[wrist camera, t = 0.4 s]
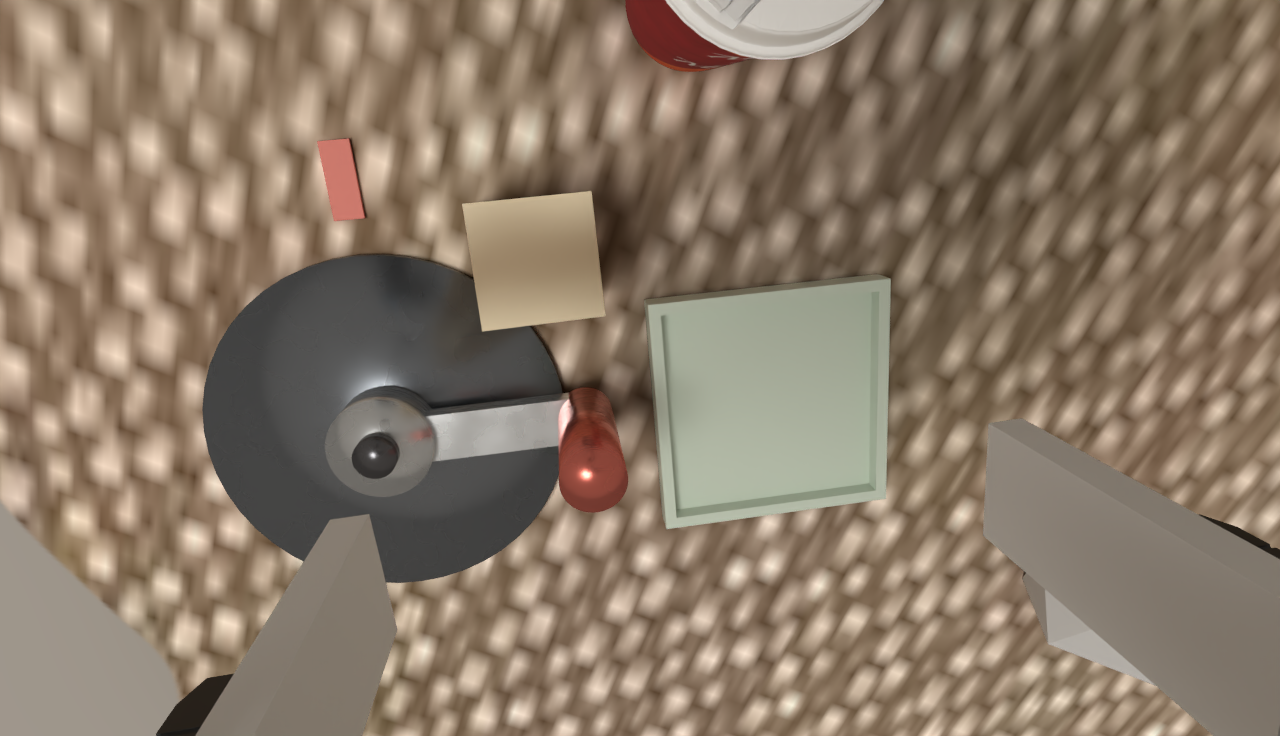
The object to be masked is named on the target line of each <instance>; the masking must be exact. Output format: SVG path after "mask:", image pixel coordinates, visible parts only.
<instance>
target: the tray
mask: <svg viewBox="0 0 1280 736" xmlns="http://www.w3.org/2000/svg"><path fill="white" fill-rule="evenodd" d="M890 290H891V279H890V278H888V277H885V276H882V275H879V274H873V275H864V276H855V277H846V278H836V279H827V280H818V281H809V282H800V283H790V284H781V285H772V286H763V287H754V288H744V289H735V290H726V291H717V292H708V293H698V294H689V295H680V296H671V297H662V298H652V299H644V304H645V316H646V327H647V339H648V351H649V363H650V374H651V386H652V398H653V410H654V422H655V433H656V445H657V457H658V469H659V480H660V492H661V504H662V516H663V519H664V522H665V526H666V529H671V528H678V527H685V526H692V525H700V524H707V523H714V522H721V521H728V520H736V519H743V518H750V517H757V516H764V515H772V514H779V513H786V512H793V511H801V510H808V509H815V508H822V507H829V506H837V505H844V504H851V503H858V502H865V501H873V500H880V499H886V471H887V426H888V380H889V335H890Z"/></svg>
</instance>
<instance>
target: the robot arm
mask: <svg viewBox="0 0 1280 736" xmlns="http://www.w3.org/2000/svg"><path fill="white" fill-rule="evenodd" d="M983 536H984V537H986V538H987V539H988V540H989V541H990V542H991V543H992V544H994V545H995V546H996V547H997V548H998V549H999V550H1000V551H1002V552H1003V553H1004V554H1005V555H1006V556H1007V557H1009V558H1010V559H1011V560H1012V561H1013V562H1014V563H1015V564H1017V565H1018V566H1019V567H1020V568H1021V569H1022V570H1024V571H1025V572H1026V573H1027V574H1028V575H1029V576H1030V577H1032V578H1033V579H1034V580H1035V581H1036V582H1037V583H1038V584H1040V585H1041V586H1042V587H1043V588H1044V589H1045V590H1047V591H1048V592H1049V593H1050V594H1051V595H1052V596H1053V597H1055V598H1056V599H1057V600H1058V601H1059V602H1060V603H1061V604H1063V605H1064V606H1065V607H1066V608H1067V609H1068V610H1070V611H1071V612H1072V613H1073V614H1074V615H1075V616H1076V617H1078V618H1079V619H1080V620H1081V621H1082V622H1083V623H1085V624H1086V625H1087V626H1088V627H1089V628H1090V629H1091V630H1093V631H1094V632H1095V633H1096V634H1097V635H1098V636H1099V637H1101V638H1102V639H1103V640H1104V641H1105V642H1106V643H1108V644H1109V645H1110V646H1111V647H1112V648H1113V649H1114V650H1116V651H1117V652H1118V653H1119V654H1120V655H1121V656H1123V657H1124V658H1125V659H1126V660H1127V661H1128V662H1129V663H1131V664H1132V665H1133V666H1134V667H1135V668H1136V669H1137V670H1139V671H1140V672H1141V673H1142V674H1143V675H1144V676H1146V677H1147V678H1148V679H1149V680H1150V681H1151V682H1152V683H1154V684H1155V685H1156V686H1157V687H1158V688H1159V689H1160V690H1162V691H1163V692H1164V693H1165V694H1166V695H1167V696H1169V697H1170V698H1171V699H1172V700H1173V701H1174V702H1175V703H1177V704H1178V705H1179V706H1180V707H1181V708H1182V709H1184V710H1185V711H1186V712H1187V713H1188V714H1189V715H1190V716H1192V717H1193V718H1194V719H1195V720H1196V721H1197V722H1198V723H1200V724H1201V725H1202V726H1203V727H1204V728H1205V729H1207V730H1208V731H1209V732H1210V733H1211V734H1212V735H1213V736H1280V550H1279V549H1278V548H1271V547H1270V544H1268V543H1266V542H1264V541H1263V540H1261V539H1259V538H1257V537H1255V536H1253V535H1251V534H1249V533H1248V532H1246V531H1244V530H1242V529H1240V528H1238V527H1235V526H1232V525H1229V524H1227V523H1224V522H1221V521H1218V520H1215V519H1212V518H1209V517H1206V516H1203V515H1200V514H1199V515H1198V514H1196V513H1194V512H1192V511H1190V510H1189V509H1187V508H1185V507H1183V506H1181V505H1179V504H1178V503H1176V502H1174V501H1172V500H1170V499H1168V498H1167V497H1165V496H1163V495H1161V494H1159V493H1157V492H1156V491H1154V490H1152V489H1150V488H1148V487H1147V486H1145V485H1143V484H1141V483H1139V482H1137V481H1136V480H1134V479H1132V478H1130V477H1128V476H1126V475H1125V474H1123V473H1121V472H1119V471H1117V470H1115V469H1114V468H1112V467H1110V466H1108V465H1106V464H1104V463H1103V462H1101V461H1099V460H1097V459H1095V458H1094V457H1092V456H1090V455H1088V454H1086V453H1084V452H1083V451H1081V450H1079V449H1077V448H1075V447H1073V446H1072V445H1070V444H1068V443H1066V442H1064V441H1062V440H1061V439H1059V438H1057V437H1055V436H1053V435H1051V434H1050V433H1048V432H1046V431H1044V430H1042V429H1041V428H1039V427H1037V426H1035V425H1033V424H1031V423H1030V422H1028V421H1026V420H1024V419H1022V418H1021V419H1014V420H1007V421H1001V422H994V423H989V426H988V446H987V467H986V487H985V508H984V528H983ZM396 632H397V626H396V622H395V618H394V614H393V610H392V606H391V602H390V598H389V593H388V589H387V585H386V581H385V577H384V573H383V569H382V565H381V561H380V556H379V552H378V548H377V544H376V540H375V536H374V532H373V528H372V524H371V520H370V515H369V514H366V515H359V516H352V517H346V518H339V519H332V520H330V521H329V522H328V524H327V525H326V527H325V529H324V530H323V532H322V533H321V535H320V537H319V538H318V540H317V541H316V543H315V545H314V546H313V548H312V549H311V551H310V553H309V554H308V556H307V557H306V559H305V561H304V562H303V564H302V565H301V567H300V569H299V570H298V572H297V574H296V575H295V577H294V578H293V580H292V582H291V583H290V585H289V586H288V588H287V590H286V591H285V593H284V594H283V596H282V598H281V599H280V601H279V602H278V604H277V606H276V607H275V609H274V610H273V612H272V614H271V615H270V617H269V618H268V620H267V622H266V623H265V625H264V626H263V628H262V630H261V631H260V633H259V634H258V636H257V638H256V639H255V641H254V642H253V644H252V646H251V647H250V649H249V651H248V652H247V654H246V655H245V657H244V659H243V660H242V662H241V663H240V665H239V667H238V668H237V670H236V671H235V673H234V674H229V675H223V676H217V677H211V678H207V679H205V680H204V681H203V682H202V683H201V684H200V685H199V686H197V687H196V688H195V689H194V690H193V691H192V692H191V693H189V694H188V695H187V696H186V697H185V698H184V699H182V700H181V701H180V702H179V703H178V704H177V705H176V706H175V707H174V709H173V711H172V712H171V713H170V715H169V716H168V717H167V719H166V720H165V722H164V723H163V725H162V726H161V728H160V729H159V730H158V732H157V734H156V736H362V734H363V731H364V728H365V725H366V722H367V719H368V716H369V713H370V710H371V707H372V704H373V701H374V698H375V695H376V692H377V689H378V686H379V683H380V680H381V677H382V674H383V671H384V668H385V665H386V662H387V659H388V656H389V653H390V650H391V647H392V644H393V641H394V638H395V635H396Z"/></svg>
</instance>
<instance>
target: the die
mask: <svg viewBox="0 0 1280 736" xmlns="http://www.w3.org/2000/svg"><path fill="white" fill-rule="evenodd" d="M1022 579H1023V582H1024V584H1025V587H1026V589H1027V592H1028V594H1029V597H1030V599H1031V602H1032V604H1033V607H1034V609H1035V612H1036V615H1037V617H1038V620H1039V622H1040V625H1041V627H1042V630H1043V632H1044V635H1045V637H1046V640H1047V642H1048V644H1050V645H1052V646H1055V647H1057V648H1060V649H1063V650H1065V651H1068V652H1070V653H1073V654H1075V655H1078V656H1081V657H1083V658H1086V659H1088V660H1091V661H1093V662H1096V663H1099V664H1101V665H1104V666H1106V667H1109V668H1112V669H1114V670H1117V671H1119V672H1122V673H1124V674H1127V675H1130V676H1132V677H1135V678H1137V679H1140V680H1142V681H1145V682H1148V683H1150V684H1153V685H1155V684H1154V683H1152V682H1151V681H1150V680H1149V679H1148V678H1147V677H1146V676H1144V675H1143V674H1142V673H1141V672H1140V671H1139V670H1137V669H1136V668H1135V667H1134V666H1133V665H1132V664H1131V663H1129V662H1128V661H1127V660H1126V659H1125V658H1124V657H1123V656H1121V655H1120V654H1119V653H1118V652H1117V651H1116V650H1114V649H1113V648H1112V647H1111V646H1110V645H1109V644H1108V643H1106V642H1105V641H1104V640H1103V639H1102V638H1101V637H1099V636H1098V635H1097V634H1096V633H1095V632H1094V631H1093V630H1091V629H1090V628H1089V627H1088V626H1087V625H1086V624H1085V623H1083V622H1082V621H1081V620H1080V619H1079V618H1078V617H1076V616H1075V615H1074V614H1073V613H1072V612H1071V611H1070V610H1068V609H1067V608H1066V607H1065V606H1064V605H1063V604H1061V603H1060V602H1059V601H1058V600H1057V599H1056V598H1055V597H1053V596H1052V595H1051V594H1050V593H1049V592H1048V591H1047V590H1045V589H1044V588H1043V587H1042V586H1041V585H1040V584H1038V583H1037V582H1036V581H1035V580H1034V579H1033V578H1032V577H1030V576H1029V575H1028V574H1027V573H1026V574H1025V575H1024V577H1023V578H1022ZM1155 686H1156V685H1155Z"/></svg>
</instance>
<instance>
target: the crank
mask: <svg viewBox="0 0 1280 736" xmlns="http://www.w3.org/2000/svg"><path fill="white" fill-rule="evenodd" d="M372 433H382V434H386V435H388V436H390V437H391V438H393V439H394V440H395V442H396V443H397V444H398V447H399V450H400V457H399V460H398V462H397V464H396V466H395V468H394V470H393V471H392V472H391V473H390V474H389V475H387V476H386V477H383V478H379V479H371V478H367V477H364V476H362V475H361V474H359V473H358V472H357V471H356V469H355V468H354V466H353V464H352V453H353V450H354V449H355V447H356V446H357V444H358V443H359V441H360V440H361V439H362V438H363V437H365V436H366V435H368V434H372ZM552 446H558V448H559V486H560V491H561V493H562V495H563V497H564V499H565V500H566V501H567V502H568V503H569V504H570V505H571V506H572V507H574V508H576V509H578V510H581V511H584V512H600V511H604V510H607V509H609V508H611V507H613V506H614V505H615V504H617V503H618V502H619V501H620V500H621V498H622V497H623V495H624V494H625V492H626V489H627V485H628V475H627V470H626V466H625V461H624V457H623V453H622V449H621V444H620V440H619V436H618V432H617V428H616V423H615V419H614V415H613V411H612V406H611V403H610V401H609V400H608V398H607V397H606V396H605V395H604V394H603V393H602V392H600V391H599V390H597V389H594V388H589V387H582V388H577V389H575V390H572V391H571V392H569V393H563V394H555V395H546V396H538V397H530V398H521V399H513V400H504V401H496V402H488V403H479V404H471V405H463V406H454V407H446V408H438V409H431V407H430V406H429V405H428V404H427V403H426V402H425V401H424V400H423V399H422V398H420V397H419V396H418V395H416V394H414V393H412V392H410V391H408V390H405V389H402V388H398V387H389V386H384V387H376V388H372V389H368V390H366V391H364V392H362V393H360V394H358V395H357V396H355V397H354V398H353V399H352V400H351V401H350V402H349V403H348V404H347V405H346V407H345V408H344V409H343V410H342V411H341V413H340V414H339V415H338V416H337V417H336V419H335V420H334V421H333V423H332V424H331V426H330V428H329V430H328V432H327V436H326V441H325V452H326V458H327V461H328V464H329V466H330V468H331V469H332V471H333V473H334V474H335V475H336V476H337V478H338V479H339V480H340V481H341V482H343V483H344V484H345V485H346V486H348V487H349V488H351V489H353V490H355V491H357V492H359V493H362V494H365V495H369V496H375V497H390V496H395V495H399V494H402V493H404V492H406V491H409V490H410V489H412V488H413V487H415V486H416V485H417V484H419V483H420V482H421V481H422V479H423V478H424V477H425V476H426V474H427V472H428V470H429V468H430V466H431V464H432V462H434V461H442V460H449V459H457V458H465V457H473V456H481V455H489V454H497V453H505V452H513V451H521V450H529V449H537V448H545V447H552Z"/></svg>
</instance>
